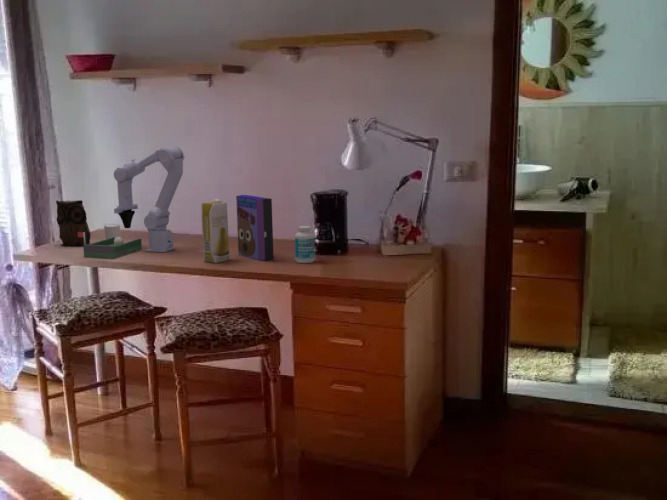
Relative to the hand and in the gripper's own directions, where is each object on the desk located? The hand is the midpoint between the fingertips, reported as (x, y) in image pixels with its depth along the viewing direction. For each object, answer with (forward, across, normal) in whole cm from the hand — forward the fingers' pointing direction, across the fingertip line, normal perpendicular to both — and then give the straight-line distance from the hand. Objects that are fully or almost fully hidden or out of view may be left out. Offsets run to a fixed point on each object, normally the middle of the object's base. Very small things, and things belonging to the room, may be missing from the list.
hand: (127, 228), depth 320 cm
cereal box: (+9, +4, +61) cm, 62 cm away
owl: (+9, -2, -27) cm, 28 cm away
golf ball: (+5, +7, 0) cm, 8 cm away
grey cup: (+9, -13, -17) cm, 23 cm away
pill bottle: (+9, +7, +83) cm, 84 cm away
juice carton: (+9, +14, +49) cm, 52 cm away
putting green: (+9, +11, -1) cm, 14 cm away
